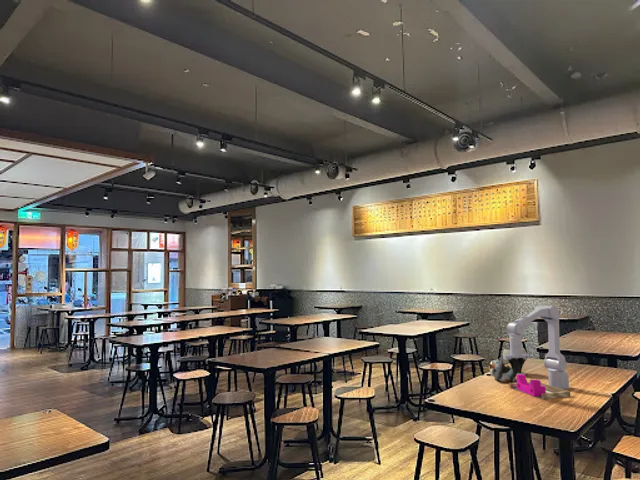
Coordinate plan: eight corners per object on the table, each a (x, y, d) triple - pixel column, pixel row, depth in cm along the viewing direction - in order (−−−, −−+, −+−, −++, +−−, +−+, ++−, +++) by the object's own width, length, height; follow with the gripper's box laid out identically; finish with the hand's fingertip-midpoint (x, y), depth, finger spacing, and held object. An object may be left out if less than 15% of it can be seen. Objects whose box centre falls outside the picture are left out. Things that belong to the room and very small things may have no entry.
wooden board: (534, 385, 245) (534, 380, 245) (570, 396, 222) (570, 391, 222) (509, 387, 240) (509, 383, 240) (543, 399, 217) (543, 394, 217)
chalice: (513, 370, 284) (512, 346, 285) (533, 374, 272) (531, 349, 273) (498, 373, 277) (497, 348, 278) (518, 377, 265) (517, 351, 266)
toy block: (545, 395, 223) (545, 380, 223) (534, 396, 222) (533, 381, 222) (528, 388, 237) (527, 374, 238) (517, 389, 237) (516, 374, 237)
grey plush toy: (513, 384, 247) (499, 362, 249) (494, 389, 255) (481, 367, 257) (520, 372, 259) (507, 350, 261) (502, 377, 266) (489, 356, 268)
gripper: (509, 348, 224) (510, 375, 222) (533, 346, 228) (534, 373, 226) (499, 346, 230) (501, 373, 229) (523, 344, 234) (524, 371, 233)
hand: (517, 373), depth 228 cm, fingers closed
